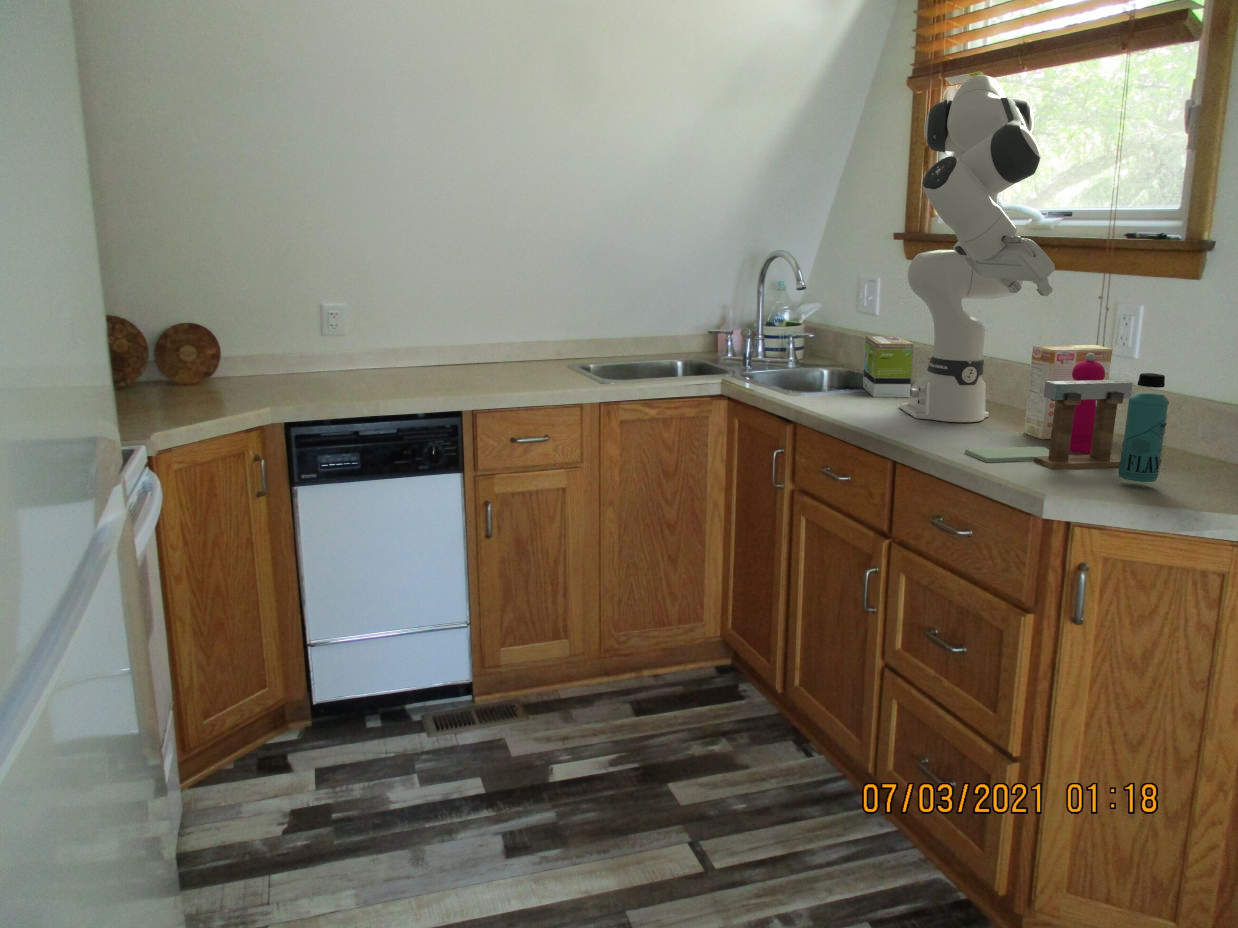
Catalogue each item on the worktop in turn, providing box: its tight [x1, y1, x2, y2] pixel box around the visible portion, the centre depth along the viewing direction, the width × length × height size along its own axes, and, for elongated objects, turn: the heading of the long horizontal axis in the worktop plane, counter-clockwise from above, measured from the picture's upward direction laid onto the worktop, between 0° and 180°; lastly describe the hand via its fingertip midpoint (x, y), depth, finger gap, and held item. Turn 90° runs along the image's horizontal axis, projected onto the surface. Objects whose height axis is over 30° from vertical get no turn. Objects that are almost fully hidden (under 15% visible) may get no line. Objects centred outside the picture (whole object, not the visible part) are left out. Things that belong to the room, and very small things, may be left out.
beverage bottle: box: [1117, 372, 1170, 483], centre depth 171 cm, size 6×7×20 cm
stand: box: [1033, 393, 1124, 470], centre depth 187 cm, size 6×15×14 cm, turn 101°
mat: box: [964, 446, 1050, 463], centre depth 195 cm, size 8×17×1 cm, turn 101°
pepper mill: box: [1069, 353, 1105, 455], centre depth 198 cm, size 7×7×20 cm
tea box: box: [862, 335, 914, 398], centre depth 265 cm, size 15×10×15 cm, turn 178°
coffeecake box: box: [1023, 344, 1113, 440], centre depth 213 cm, size 15×7×20 cm, turn 102°
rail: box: [1044, 379, 1133, 400], centre depth 185 cm, size 4×16×3 cm, turn 101°
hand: (1031, 292), depth 181 cm, fingers open, 8 cm apart
